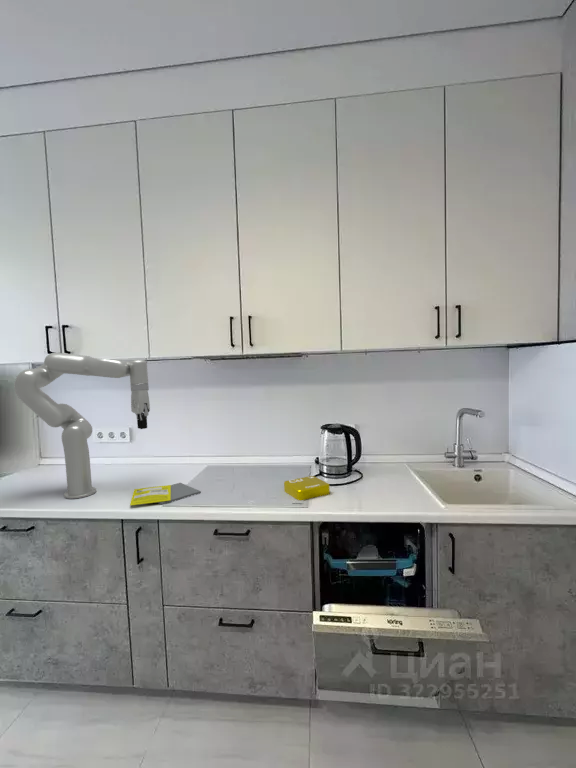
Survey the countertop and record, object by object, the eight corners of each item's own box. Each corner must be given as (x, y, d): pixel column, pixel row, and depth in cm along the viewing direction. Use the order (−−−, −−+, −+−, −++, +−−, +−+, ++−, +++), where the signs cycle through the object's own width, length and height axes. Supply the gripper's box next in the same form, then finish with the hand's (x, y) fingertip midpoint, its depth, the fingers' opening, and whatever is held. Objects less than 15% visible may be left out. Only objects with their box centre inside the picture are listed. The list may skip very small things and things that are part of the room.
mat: (142, 494, 173) (142, 493, 172) (180, 484, 185) (180, 482, 185) (161, 505, 159) (160, 503, 159) (200, 492, 172) (200, 491, 172)
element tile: (299, 502, 157) (298, 490, 157) (282, 491, 171) (282, 480, 170) (331, 494, 164) (331, 483, 163) (313, 484, 177) (312, 474, 177)
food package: (134, 490, 176) (129, 506, 157) (134, 487, 176) (129, 503, 157) (170, 486, 180) (170, 501, 161) (170, 483, 180) (170, 498, 161)
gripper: (124, 387, 183) (127, 427, 184) (138, 389, 172) (141, 431, 173) (140, 386, 188) (143, 425, 190) (155, 387, 177) (158, 428, 178)
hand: (142, 428), depth 181 cm, fingers closed
